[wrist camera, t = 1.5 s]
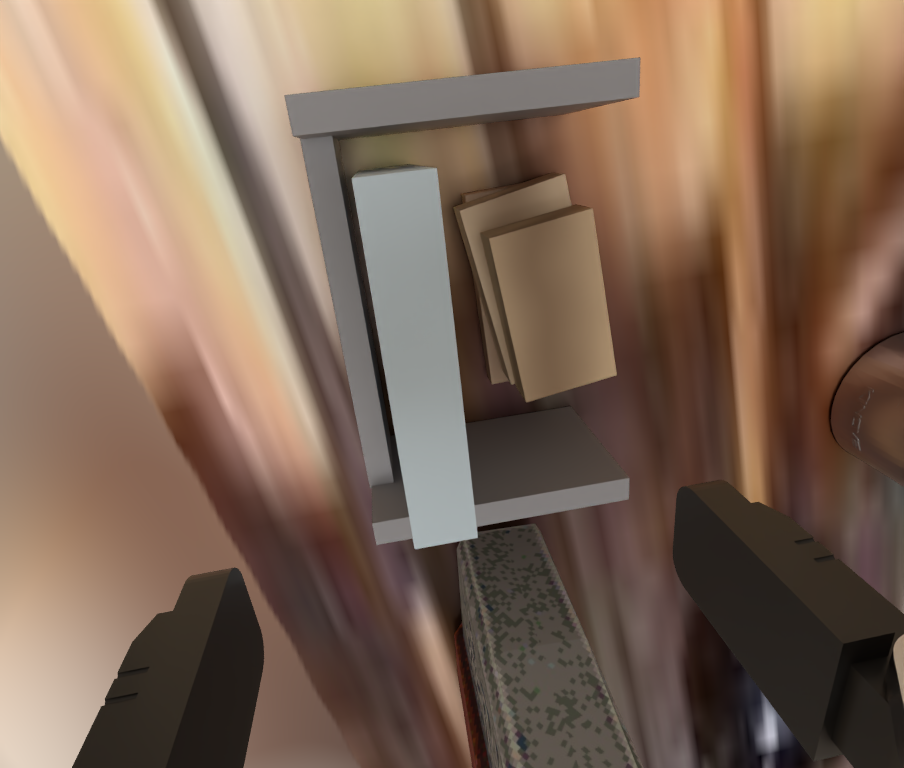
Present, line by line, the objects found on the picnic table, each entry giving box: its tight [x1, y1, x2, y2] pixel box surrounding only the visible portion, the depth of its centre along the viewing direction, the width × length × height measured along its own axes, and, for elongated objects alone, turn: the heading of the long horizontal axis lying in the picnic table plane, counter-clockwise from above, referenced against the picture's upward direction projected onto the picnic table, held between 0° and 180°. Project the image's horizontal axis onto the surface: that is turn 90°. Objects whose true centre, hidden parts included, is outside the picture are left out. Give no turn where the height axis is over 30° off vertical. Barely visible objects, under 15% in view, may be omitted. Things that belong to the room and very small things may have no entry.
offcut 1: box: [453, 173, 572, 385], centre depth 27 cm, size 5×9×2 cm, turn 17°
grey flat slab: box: [352, 164, 478, 549], centre depth 23 cm, size 2×13×12 cm, turn 6°
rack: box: [285, 58, 640, 545], centre depth 25 cm, size 12×18×8 cm, turn 6°
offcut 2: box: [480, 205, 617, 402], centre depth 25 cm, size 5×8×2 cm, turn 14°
